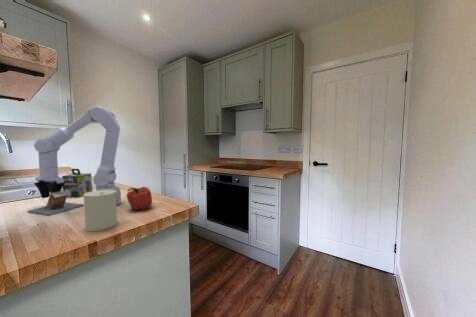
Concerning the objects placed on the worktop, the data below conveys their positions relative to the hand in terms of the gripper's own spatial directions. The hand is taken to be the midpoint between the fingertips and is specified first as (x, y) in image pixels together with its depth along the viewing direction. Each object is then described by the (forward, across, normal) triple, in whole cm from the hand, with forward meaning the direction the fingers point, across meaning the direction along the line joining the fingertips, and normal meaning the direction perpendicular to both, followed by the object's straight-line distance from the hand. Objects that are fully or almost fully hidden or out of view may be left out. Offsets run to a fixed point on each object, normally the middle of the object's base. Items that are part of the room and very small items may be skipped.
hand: (50, 198), depth 85 cm
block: (+3, +3, 0) cm, 4 cm away
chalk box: (+5, -12, +19) cm, 23 cm away
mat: (+4, +4, 0) cm, 6 cm away
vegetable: (+4, +37, +11) cm, 39 cm away
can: (+4, +38, -7) cm, 39 cm away
